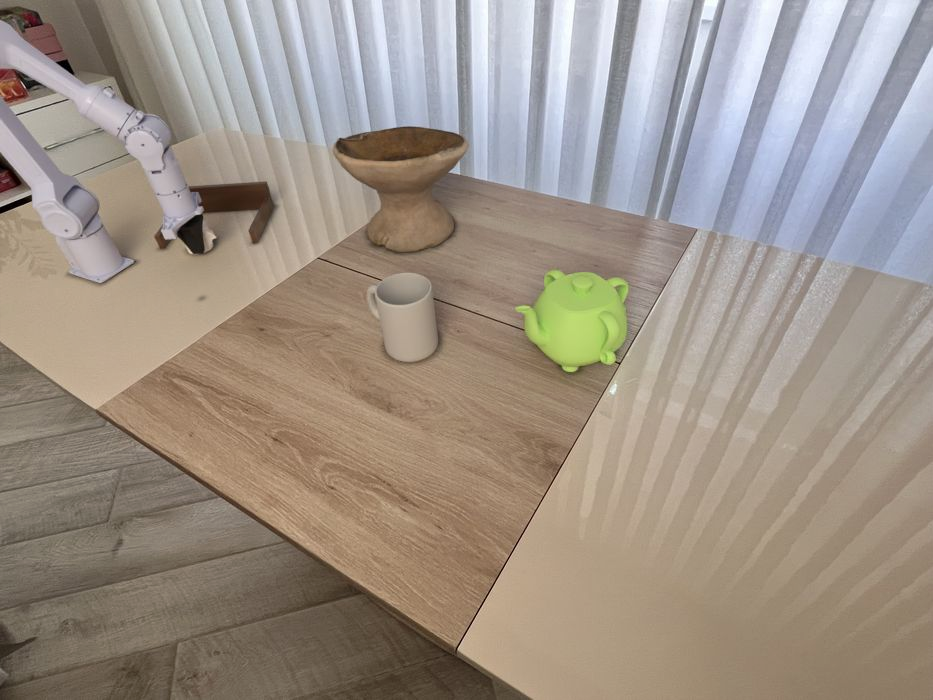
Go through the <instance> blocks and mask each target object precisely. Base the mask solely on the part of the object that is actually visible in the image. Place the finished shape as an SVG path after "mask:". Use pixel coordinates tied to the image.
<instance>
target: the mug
mask: <svg viewBox="0 0 933 700" xmlns="http://www.w3.org/2000/svg"><path fill="white" fill-rule="evenodd" d="M366 300H367V304H368V307H369V311H370V312H371V315H373V317H374V318H375V319H376V320H378V321H379V322H380V328H381V332H382V338H383V345H384V349H385V351H386V353H387V354H388V355H389V356H390V357H391V359H394V360H396V361H399V362H403V363H413V362H415V363H416V362H419V361H423V360H425V359H427V358H429V357H430V356H431V355H432V354H433V353H434V352H435V351H436V350H437V348H438V345H439V333H438V326H437V319H436V310H435V302H434V301H435V300H434V293H433V285H432V283H431V281H430V280H429V279H428V277H426V276H424V275H422V274H420V273H416V272H399V273H395V274H391V275H389V276H387V277H385V278H383V279H382V280H381V281H380V282H378V284H371V285H369V286H368V288H367V290H366Z"/></svg>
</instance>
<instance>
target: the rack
mask: <svg viewBox="0 0 933 700" xmlns="http://www.w3.org/2000/svg"><path fill="white" fill-rule="evenodd" d="M188 188H189V190H190V192H198V193H199V195H200V198H201V200H202V201H201V203H198V206H202V207H203V209H204V211H203V212H202V214H206V213H207V214H209V213H225V212H241V211H257V212H256V214H255V216H254V218H253V220H252V222H251V225H250V226H249V228H248V233H249V235H250V239H251V242H252V244H258V243H259V241H260V239H261V236H262V234H263V233H264V230H265V228H266V226H267V223H268V222H269V219H270V217H271V215H272V213H273V210H274V208H275V203H274V201H273V197H272V193H271V191H270V188H269V184H268V181H265V180H264V181H251V182H235V183H234V182H233V183H217V184H202V185H201V184H200V185H188ZM162 227H163V224H161V226H160V228H159V229H158V230H157V231H156V233H155V234H154V239H155V241H156V243H157V246H158V247H159V249H161V250H164V249H166V248H167V247H168V245H169V243H170V242H171V240H172V239H165V238H164V236H163V234H162V232H161V229H162Z"/></svg>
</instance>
